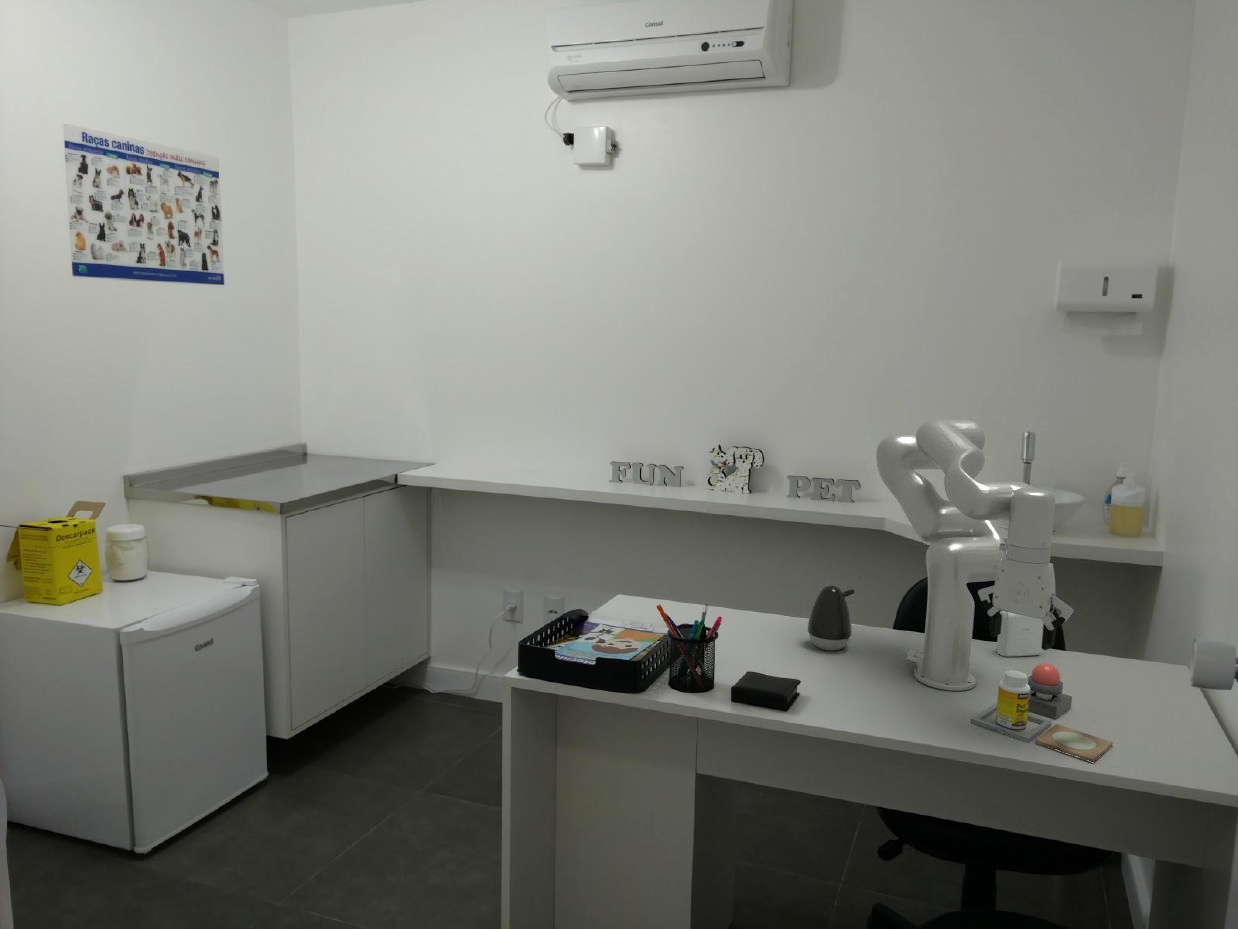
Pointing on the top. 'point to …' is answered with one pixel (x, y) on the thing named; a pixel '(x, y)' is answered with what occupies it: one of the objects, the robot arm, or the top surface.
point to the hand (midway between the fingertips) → (1020, 641)
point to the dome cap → (1045, 681)
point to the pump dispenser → (830, 619)
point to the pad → (1074, 742)
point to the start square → (1028, 737)
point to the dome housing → (1049, 705)
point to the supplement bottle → (1013, 700)
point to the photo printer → (1019, 635)
